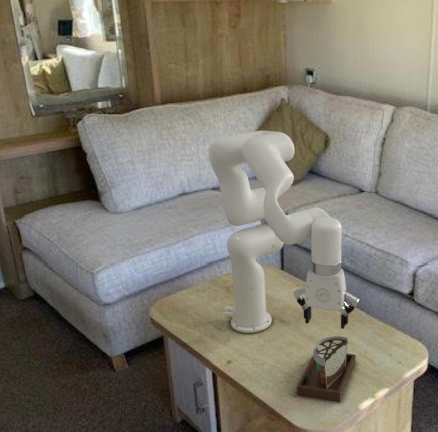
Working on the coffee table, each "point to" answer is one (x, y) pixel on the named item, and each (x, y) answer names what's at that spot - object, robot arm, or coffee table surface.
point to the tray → (313, 389)
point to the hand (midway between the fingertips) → (325, 323)
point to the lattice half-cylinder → (330, 359)
